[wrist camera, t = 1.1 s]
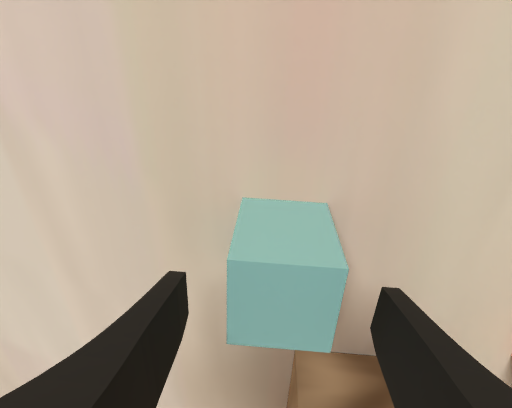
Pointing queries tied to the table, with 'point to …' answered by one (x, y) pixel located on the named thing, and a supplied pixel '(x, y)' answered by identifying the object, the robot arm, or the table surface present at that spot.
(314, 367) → the walnut block
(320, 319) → the teal block
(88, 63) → the table surface
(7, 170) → the table surface
